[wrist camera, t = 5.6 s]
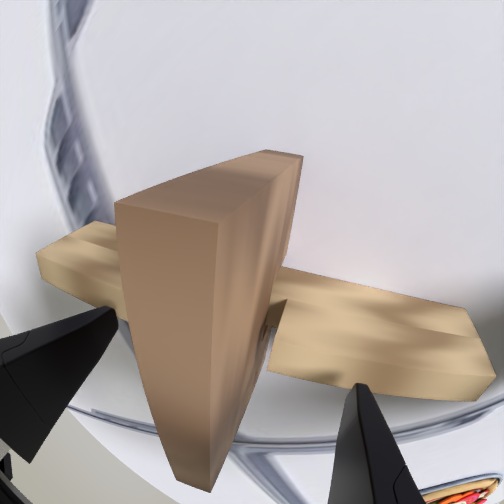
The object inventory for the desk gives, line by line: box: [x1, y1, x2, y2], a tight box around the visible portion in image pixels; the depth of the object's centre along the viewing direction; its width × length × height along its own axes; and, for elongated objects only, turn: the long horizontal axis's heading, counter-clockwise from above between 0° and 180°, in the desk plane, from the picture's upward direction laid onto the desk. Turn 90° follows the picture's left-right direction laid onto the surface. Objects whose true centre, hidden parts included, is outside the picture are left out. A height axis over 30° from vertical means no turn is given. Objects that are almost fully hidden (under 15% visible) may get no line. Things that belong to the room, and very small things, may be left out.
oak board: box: [36, 221, 496, 401], centre depth 12 cm, size 22×2×5 cm, turn 83°
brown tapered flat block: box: [114, 150, 303, 493], centre depth 10 cm, size 12×2×9 cm, turn 173°
